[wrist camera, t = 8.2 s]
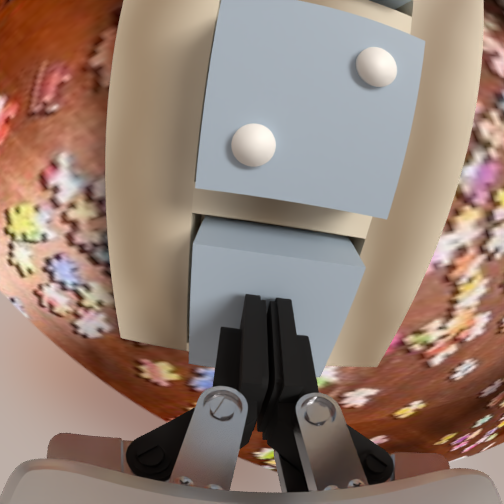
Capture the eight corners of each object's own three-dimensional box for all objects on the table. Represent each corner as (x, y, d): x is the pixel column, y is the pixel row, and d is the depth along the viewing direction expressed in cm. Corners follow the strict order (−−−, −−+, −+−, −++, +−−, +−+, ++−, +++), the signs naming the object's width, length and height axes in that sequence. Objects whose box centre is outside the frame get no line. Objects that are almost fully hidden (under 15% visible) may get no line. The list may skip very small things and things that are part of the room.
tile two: (393, 49, 8) (428, 40, 6) (363, 195, 11) (389, 221, 9) (230, 14, 8) (221, -11, 6) (208, 169, 11) (193, 190, 8)
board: (444, -44, 7) (477, -61, 4) (362, 326, 18) (376, 366, 15) (187, -99, 6) (172, -132, 3) (140, 298, 18) (120, 337, 14)
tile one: (348, 237, 12) (367, 270, 10) (313, 340, 15) (320, 380, 13) (205, 215, 12) (191, 246, 10) (197, 327, 15) (188, 366, 13)
